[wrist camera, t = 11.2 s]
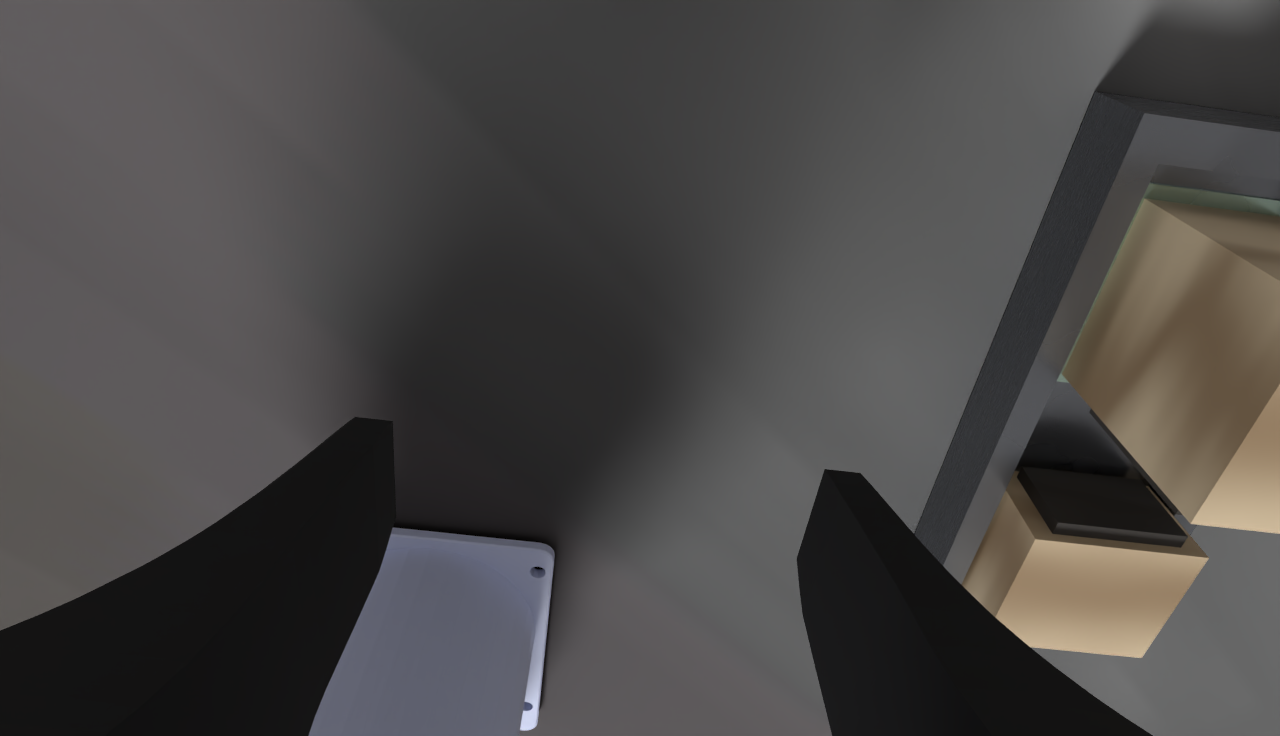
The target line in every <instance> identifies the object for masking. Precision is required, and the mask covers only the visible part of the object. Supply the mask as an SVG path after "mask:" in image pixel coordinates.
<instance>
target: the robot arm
mask: <svg viewBox="0 0 1280 736" xmlns="http://www.w3.org/2000/svg"><path fill="white" fill-rule="evenodd" d="M395 518H396V505H395V477H394V449H393V421H386V420H377V419H368V418H359V417H354V418H353V419H352V420H350V421H349V422H348V423H346V424H345V425H344V426H343V427H341V428H340V429H339V430H337V431H336V432H335V433H334V434H333V435H331V436H330V437H329V438H328V439H326V440H325V441H324V442H323V443H321V444H320V445H319V446H318V447H317V448H315V449H314V450H313V451H312V452H310V453H309V454H308V455H307V456H305V457H304V458H303V459H302V460H300V461H299V462H298V463H297V464H295V465H294V466H293V467H292V468H290V469H289V470H288V471H286V472H285V473H284V474H282V475H281V476H280V477H279V478H277V479H276V480H275V481H273V482H272V483H271V484H269V485H268V486H267V487H266V488H264V489H263V490H262V491H260V492H259V493H258V494H256V495H255V496H253V497H252V498H251V499H249V500H248V501H246V502H245V503H243V504H242V505H240V506H239V507H238V508H236V509H235V510H233V511H232V512H230V513H229V514H228V515H226V516H225V517H223V518H222V519H220V520H219V521H217V522H216V523H214V524H213V525H211V526H210V527H208V528H207V529H205V530H204V531H202V532H200V533H199V534H197V535H195V536H194V537H192V538H191V539H189V540H187V541H186V542H184V543H182V544H180V545H179V546H177V547H175V548H173V549H172V550H170V551H168V552H166V553H165V554H163V555H161V556H159V557H158V558H156V559H154V560H152V561H150V562H149V563H147V564H145V565H143V566H141V567H139V568H137V569H135V570H133V571H131V572H129V573H127V574H125V575H123V576H121V577H119V578H117V579H115V580H113V581H111V582H109V583H107V584H105V585H103V586H101V587H99V588H97V589H95V590H93V591H91V592H89V593H87V594H85V595H83V596H81V597H79V598H76V599H74V600H72V601H70V602H68V603H65V604H63V605H61V606H58V607H56V608H54V609H51V610H49V611H47V612H45V613H42V614H40V615H38V616H35V617H33V618H30V619H28V620H25V621H23V622H21V623H18V624H16V625H13V626H11V627H8V628H6V629H3V630H1V631H0V736H519V733H520V730H530V729H533V728H534V727H536V725H537V723H538V716H539V706H540V696H541V686H542V676H543V667H544V657H545V647H546V637H547V627H548V617H549V608H550V598H551V588H552V578H553V568H554V558H555V554H554V550H553V549H552V548H551V547H550V546H549V545H547V544H544V543H539V542H529V541H519V540H510V539H500V538H490V537H481V536H471V535H461V534H452V533H442V532H432V531H423V530H413V529H403V528H394V527H393V525H394V522H395ZM797 566H798V577H799V587H800V596H801V604H802V612H803V617H804V622H805V626H806V630H807V634H808V639H809V643H810V647H811V651H812V655H813V659H814V664H815V668H816V672H817V676H818V680H819V684H820V688H821V692H822V696H823V700H824V704H825V708H826V712H827V716H828V720H829V724H830V728H831V732H832V736H1153V735H1151V734H1150V733H1148V732H1146V731H1145V730H1143V729H1142V728H1140V727H1139V726H1137V725H1136V724H1134V723H1132V722H1131V721H1129V720H1128V719H1126V718H1125V717H1123V716H1122V715H1120V714H1119V713H1117V712H1116V711H1115V710H1113V709H1112V708H1110V707H1109V706H1107V705H1106V704H1104V703H1103V702H1101V701H1100V700H1098V699H1097V698H1096V697H1094V696H1093V695H1092V694H1090V693H1089V692H1088V691H1086V690H1085V689H1083V688H1082V687H1081V686H1079V685H1078V684H1077V683H1075V682H1074V681H1073V680H1071V679H1070V678H1069V677H1067V676H1066V675H1065V674H1063V673H1062V672H1061V671H1059V670H1058V669H1056V668H1055V667H1054V666H1053V665H1051V664H1050V663H1049V662H1048V661H1046V660H1045V659H1044V658H1043V657H1041V656H1040V655H1039V654H1038V653H1036V652H1035V651H1034V650H1033V649H1032V648H1030V647H1029V646H1028V645H1027V644H1026V643H1024V642H1023V641H1022V640H1021V639H1020V638H1019V637H1017V636H1016V635H1015V634H1014V633H1013V632H1012V631H1010V630H1009V629H1008V628H1007V627H1006V626H1005V625H1003V624H1002V623H1001V622H1000V621H999V620H998V619H997V618H996V617H995V616H993V615H992V614H991V613H990V612H989V611H988V610H987V609H986V608H985V607H984V606H983V605H982V604H981V603H980V602H979V601H977V600H976V599H975V598H974V597H973V596H972V595H971V594H970V593H969V592H968V591H967V590H966V589H965V588H964V587H963V586H962V585H961V584H960V583H959V582H958V581H957V580H956V579H955V578H954V577H953V576H952V575H951V574H950V573H949V572H948V571H947V570H946V568H945V567H944V566H943V565H942V564H941V563H940V562H939V561H938V560H937V559H936V558H935V557H934V556H933V555H932V554H931V553H930V551H929V550H928V549H927V548H926V547H925V546H924V545H923V544H922V543H921V542H920V540H919V539H918V538H917V537H916V536H915V535H914V534H913V533H912V531H911V530H910V529H909V528H908V527H907V526H906V525H905V523H904V522H903V521H902V520H901V519H900V518H899V517H898V515H897V514H896V513H895V512H894V511H893V510H892V508H891V507H890V506H889V505H888V504H887V503H886V502H885V500H884V499H883V498H882V497H881V496H880V495H879V493H878V492H877V491H876V490H875V489H874V488H873V487H872V485H871V484H870V483H869V482H868V481H867V480H866V479H865V478H864V477H863V476H862V474H861V473H854V472H845V471H836V470H827V469H825V470H824V473H823V477H822V480H821V483H820V486H819V489H818V493H817V496H816V499H815V502H814V505H813V509H812V512H811V515H810V518H809V521H808V524H807V528H806V531H805V534H804V537H803V540H802V544H801V547H800V550H799V553H798V556H797ZM534 567H541V568H543V569H539V570H538V569H535V568H534Z"/></svg>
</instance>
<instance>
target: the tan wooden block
mask: <svg viewBox="0 0 1280 736" xmlns="http://www.w3.org/2000/svg"><path fill="white" fill-rule="evenodd" d="M1062 375H1063V376H1064V377H1065V378H1066V380H1067V381H1068V382H1069V383H1070V384H1071V385H1072V387H1073V388H1074V389H1075V390H1076V391H1077V392H1078V394H1079V395H1080V396H1081V397H1082V398H1083V399H1084V401H1085V402H1086V403H1087V404H1088V405H1089V406H1090V408H1091V409H1090V411H1089V413H1090V414H1091V415H1092V417H1093V418H1094V419H1095V420H1096V421H1097V422H1098V424H1099V425H1100V426H1101V427H1102V428H1103V430H1104V431H1105V432H1106V433H1107V434H1108V435H1109V437H1110V438H1111V439H1112V440H1113V441H1114V442H1115V444H1116V445H1117V446H1118V447H1119V448H1120V450H1121V451H1122V452H1123V453H1124V454H1125V455H1126V457H1127V458H1128V459H1129V460H1130V461H1131V463H1132V464H1133V465H1134V466H1135V467H1136V468H1137V470H1138V471H1139V472H1140V473H1141V474H1142V475H1143V477H1144V478H1145V479H1146V480H1147V481H1148V483H1149V484H1150V485H1151V486H1152V487H1153V488H1154V490H1155V491H1156V492H1157V493H1158V494H1159V496H1160V497H1161V498H1162V499H1163V500H1164V501H1165V503H1166V504H1167V505H1168V506H1169V507H1170V508H1171V510H1172V511H1173V512H1174V513H1175V514H1176V515H1183V516H1184V517H1185V518H1186V519H1187V520H1188V522H1189V523H1190V524H1197V525H1206V526H1215V527H1224V528H1233V529H1242V530H1251V531H1260V532H1269V533H1279V534H1280V216H1273V215H1265V214H1258V213H1250V212H1243V211H1235V210H1228V209H1220V208H1213V207H1205V206H1198V205H1191V204H1183V203H1176V202H1168V201H1161V200H1153V199H1146V198H1145V199H1144V201H1143V203H1142V205H1141V207H1140V209H1139V211H1138V213H1137V216H1136V218H1135V220H1134V222H1133V224H1132V226H1131V228H1130V230H1129V233H1128V235H1127V237H1126V239H1125V241H1124V243H1123V245H1122V248H1121V250H1120V252H1119V254H1118V256H1117V258H1116V260H1115V262H1114V265H1113V267H1112V269H1111V271H1110V273H1109V275H1108V277H1107V279H1106V282H1105V284H1104V286H1103V288H1102V290H1101V292H1100V294H1099V296H1098V299H1097V301H1096V303H1095V305H1094V307H1093V309H1092V311H1091V313H1090V316H1089V318H1088V320H1087V322H1086V324H1085V326H1084V328H1083V330H1082V333H1081V335H1080V337H1079V339H1078V341H1077V343H1076V345H1075V348H1074V350H1073V352H1072V354H1071V356H1070V358H1069V360H1068V362H1067V365H1066V367H1065V369H1064V371H1063V373H1062Z"/></svg>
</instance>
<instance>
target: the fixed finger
mask: <svg viewBox="0 0 1280 736" xmlns="http://www.w3.org/2000/svg"><path fill="white" fill-rule="evenodd" d="M1208 559H1209V557H1208V556H1207V555H1206V554H1205V553H1204V551H1203V550H1202V549H1201V548H1200V547H1199V546H1198V544H1197V543H1196V542H1195V541H1194V540H1193V538H1192V537H1191V536H1190V535H1189V534H1188V533H1187V531H1186V530H1185V529H1184V528H1183V527H1182V525H1181V524H1180V523H1179V522H1178V521H1177V519H1176V518H1175V517H1174V516H1173V515H1172V514H1171V512H1170V511H1169V510H1168V509H1167V508H1166V506H1165V505H1164V504H1163V503H1162V502H1161V500H1160V499H1159V498H1158V497H1157V496H1156V495H1155V493H1154V492H1153V491H1152V490H1151V489H1150V487H1149V486H1145V485H1144V483H1143V482H1142V481H1141V480H1138V479H1129V478H1120V477H1112V476H1103V475H1094V474H1085V473H1076V472H1067V471H1058V470H1050V469H1041V468H1032V467H1023V466H1022V467H1021V469H1020V471H1014V473H1013V476H1012V478H1011V480H1010V482H1009V484H1008V486H1007V488H1006V490H1005V493H1004V495H1003V497H1002V499H1001V501H1000V503H999V505H998V508H997V510H996V512H995V514H994V516H993V518H992V520H991V522H990V525H989V527H988V529H987V531H986V533H985V535H984V537H983V540H982V542H981V544H980V546H979V548H978V550H977V552H976V555H975V557H974V559H973V561H972V563H971V565H970V567H969V569H968V572H967V574H966V576H965V578H964V580H963V582H962V584H961V585H962V586H963V587H964V588H965V589H966V590H967V591H968V592H969V593H970V594H971V595H972V596H973V597H974V598H975V599H976V600H977V601H979V602H980V603H981V604H982V605H983V606H984V607H985V608H986V609H987V610H988V611H989V612H990V613H991V614H992V615H993V616H995V617H996V618H997V619H998V620H999V621H1000V622H1001V623H1002V624H1003V625H1005V626H1006V627H1007V628H1008V629H1009V630H1010V631H1012V632H1013V633H1014V634H1015V635H1016V636H1017V637H1019V638H1020V639H1021V640H1022V641H1023V642H1024V643H1026V644H1027V645H1028V646H1029V647H1036V648H1046V649H1056V650H1066V651H1076V652H1086V653H1096V654H1106V655H1116V656H1126V657H1136V658H1142V657H1143V655H1144V654H1145V652H1146V651H1147V649H1148V648H1149V646H1150V645H1151V643H1152V642H1153V640H1154V639H1155V637H1156V636H1157V634H1158V633H1159V631H1160V630H1161V628H1162V627H1163V625H1164V624H1165V622H1166V621H1167V620H1168V618H1169V617H1170V615H1171V614H1172V612H1173V611H1174V609H1175V608H1176V606H1177V605H1178V603H1179V602H1180V600H1181V599H1182V597H1183V596H1184V594H1185V593H1186V591H1187V590H1188V588H1189V587H1190V585H1191V584H1192V582H1193V581H1194V579H1195V578H1196V576H1197V575H1198V574H1199V572H1200V571H1201V569H1202V568H1203V566H1204V565H1205V563H1206V562H1207V560H1208Z"/></svg>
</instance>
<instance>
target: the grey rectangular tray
mask: <svg viewBox="0 0 1280 736" xmlns="http://www.w3.org/2000/svg"><path fill="white" fill-rule="evenodd" d="M1145 198H1146V199H1153V200H1161V201H1168V202H1176V203H1183V204H1191V205H1198V206H1205V207H1213V208H1220V209H1228V210H1235V211H1243V212H1250V213H1258V214H1265V215H1273V216H1280V118H1279V117H1272V116H1265V115H1258V114H1251V113H1244V112H1237V111H1230V110H1223V109H1216V108H1209V107H1202V106H1195V105H1188V104H1181V103H1174V102H1166V101H1159V100H1152V99H1145V98H1138V97H1131V96H1124V95H1117V94H1110V93H1103V92H1096V91H1095V93H1094V95H1093V98H1092V100H1091V103H1090V105H1089V107H1088V110H1087V112H1086V115H1085V117H1084V120H1083V122H1082V125H1081V127H1080V130H1079V132H1078V134H1077V137H1076V139H1075V142H1074V144H1073V147H1072V149H1071V152H1070V154H1069V156H1068V159H1067V161H1066V164H1065V166H1064V169H1063V171H1062V174H1061V176H1060V179H1059V181H1058V183H1057V186H1056V188H1055V191H1054V193H1053V196H1052V198H1051V201H1050V203H1049V206H1048V208H1047V210H1046V213H1045V215H1044V218H1043V220H1042V223H1041V225H1040V228H1039V230H1038V232H1037V235H1036V237H1035V240H1034V242H1033V245H1032V247H1031V250H1030V252H1029V255H1028V257H1027V259H1026V262H1025V264H1024V267H1023V269H1022V272H1021V274H1020V277H1019V279H1018V281H1017V284H1016V286H1015V289H1014V291H1013V294H1012V296H1011V299H1010V301H1009V304H1008V306H1007V308H1006V311H1005V313H1004V316H1003V318H1002V321H1001V323H1000V326H999V328H998V331H997V333H996V335H995V338H994V340H993V343H992V345H991V348H990V350H989V353H988V355H987V357H986V360H985V362H984V365H983V367H982V370H981V372H980V375H979V377H978V380H977V382H976V384H975V387H974V389H973V392H972V394H971V397H970V399H969V402H968V404H967V407H966V409H965V411H964V414H963V416H962V419H961V421H960V424H959V426H958V429H957V431H956V433H955V436H954V438H953V441H952V443H951V446H950V448H949V451H948V453H947V456H946V458H945V460H944V463H943V465H942V468H941V470H940V473H939V475H938V478H937V480H936V482H935V485H934V487H933V490H932V492H931V495H930V497H929V500H928V502H927V505H926V507H925V509H924V512H923V514H922V517H921V519H920V522H919V524H918V527H917V529H916V532H915V534H914V535H915V536H916V537H917V538H918V539H919V540H920V542H921V543H922V544H923V545H924V546H925V547H926V548H927V549H928V550H929V551H930V553H931V554H932V555H933V556H934V557H935V558H936V559H937V560H938V561H939V562H940V563H941V564H942V565H943V566H944V567H945V568H946V570H947V571H948V572H949V573H950V574H951V575H952V576H953V577H954V578H955V579H956V580H957V581H958V582H959V583H960V584H962V582H963V580H964V578H965V576H966V574H967V572H968V569H969V567H970V565H971V563H972V561H973V559H974V557H975V555H976V552H977V550H978V548H979V546H980V544H981V542H982V540H983V537H984V535H985V533H986V531H987V529H988V527H989V525H990V522H991V520H992V518H993V516H994V514H995V512H996V510H997V508H998V505H999V503H1000V501H1001V499H1002V497H1003V495H1004V493H1005V490H1006V488H1007V486H1008V484H1009V482H1010V480H1011V478H1012V476H1013V473H1014V471H1020V469H1021V467H1022V466H1023V467H1032V468H1041V469H1050V470H1058V471H1067V472H1076V473H1085V474H1094V475H1103V476H1112V477H1120V478H1129V479H1138V480H1141V481H1142V482H1143V483H1144V485H1145V486H1149V487H1150V489H1151V490H1152V491H1153V492H1154V493H1155V495H1156V496H1157V497H1158V498H1159V499H1160V500H1161V502H1162V503H1163V504H1164V505H1165V506H1166V508H1167V509H1168V510H1169V511H1170V512H1171V514H1172V515H1173V516H1174V517H1175V518H1176V519H1177V521H1178V522H1179V523H1180V524H1181V525H1182V527H1183V528H1184V529H1185V530H1186V531H1187V533H1188V534H1189V535H1191V533H1192V532H1193V530H1194V529H1195V527H1196V526H1197V524H1190V523H1189V522H1188V520H1187V519H1186V518H1185V517H1184V516H1183V515H1176V514H1175V513H1174V512H1173V511H1172V510H1171V508H1170V507H1169V506H1168V505H1167V504H1166V503H1165V501H1164V500H1163V499H1162V498H1161V497H1160V496H1159V494H1158V493H1157V492H1156V491H1155V490H1154V488H1153V487H1152V486H1151V485H1150V484H1149V483H1148V481H1147V480H1146V479H1145V478H1144V477H1143V475H1142V474H1141V473H1140V472H1139V471H1138V470H1137V468H1136V467H1135V466H1134V465H1133V464H1132V463H1131V461H1130V460H1129V459H1128V458H1127V457H1126V455H1125V454H1124V453H1123V452H1122V451H1121V450H1120V448H1119V447H1118V446H1117V445H1116V444H1115V442H1114V441H1113V440H1112V439H1111V438H1110V437H1109V435H1108V434H1107V433H1106V432H1105V431H1104V430H1103V428H1102V427H1101V426H1100V425H1099V424H1098V422H1097V421H1096V420H1095V419H1094V418H1093V417H1092V415H1091V414H1090V413H1089V411H1090V409H1091V408H1090V406H1089V405H1088V404H1087V403H1086V402H1085V401H1084V399H1083V398H1082V397H1081V396H1080V395H1079V394H1078V392H1077V391H1076V390H1075V389H1074V388H1073V387H1072V385H1071V384H1070V383H1069V382H1068V381H1067V380H1066V378H1065V377H1064V376H1063V375H1062V373H1063V371H1064V369H1065V367H1066V365H1067V362H1068V360H1069V358H1070V356H1071V354H1072V352H1073V350H1074V348H1075V345H1076V343H1077V341H1078V339H1079V337H1080V335H1081V333H1082V330H1083V328H1084V326H1085V324H1086V322H1087V320H1088V318H1089V316H1090V313H1091V311H1092V309H1093V307H1094V305H1095V303H1096V301H1097V299H1098V296H1099V294H1100V292H1101V290H1102V288H1103V286H1104V284H1105V282H1106V279H1107V277H1108V275H1109V273H1110V271H1111V269H1112V267H1113V265H1114V262H1115V260H1116V258H1117V256H1118V254H1119V252H1120V250H1121V248H1122V245H1123V243H1124V241H1125V239H1126V237H1127V235H1128V233H1129V230H1130V228H1131V226H1132V224H1133V222H1134V220H1135V218H1136V216H1137V213H1138V211H1139V209H1140V207H1141V205H1142V203H1143V201H1144V199H1145Z"/></svg>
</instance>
